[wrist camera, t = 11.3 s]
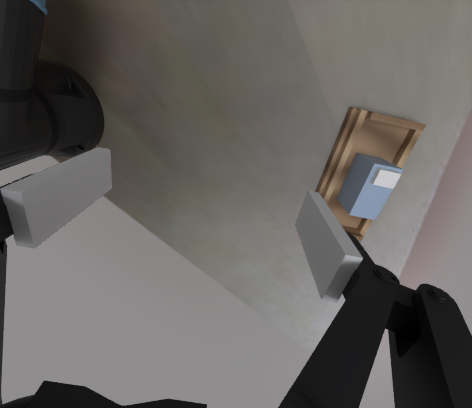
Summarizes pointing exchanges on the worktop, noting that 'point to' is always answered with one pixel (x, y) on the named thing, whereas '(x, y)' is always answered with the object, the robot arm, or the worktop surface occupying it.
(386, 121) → the wooden tray
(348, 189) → the blue block with label
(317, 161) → the worktop surface
